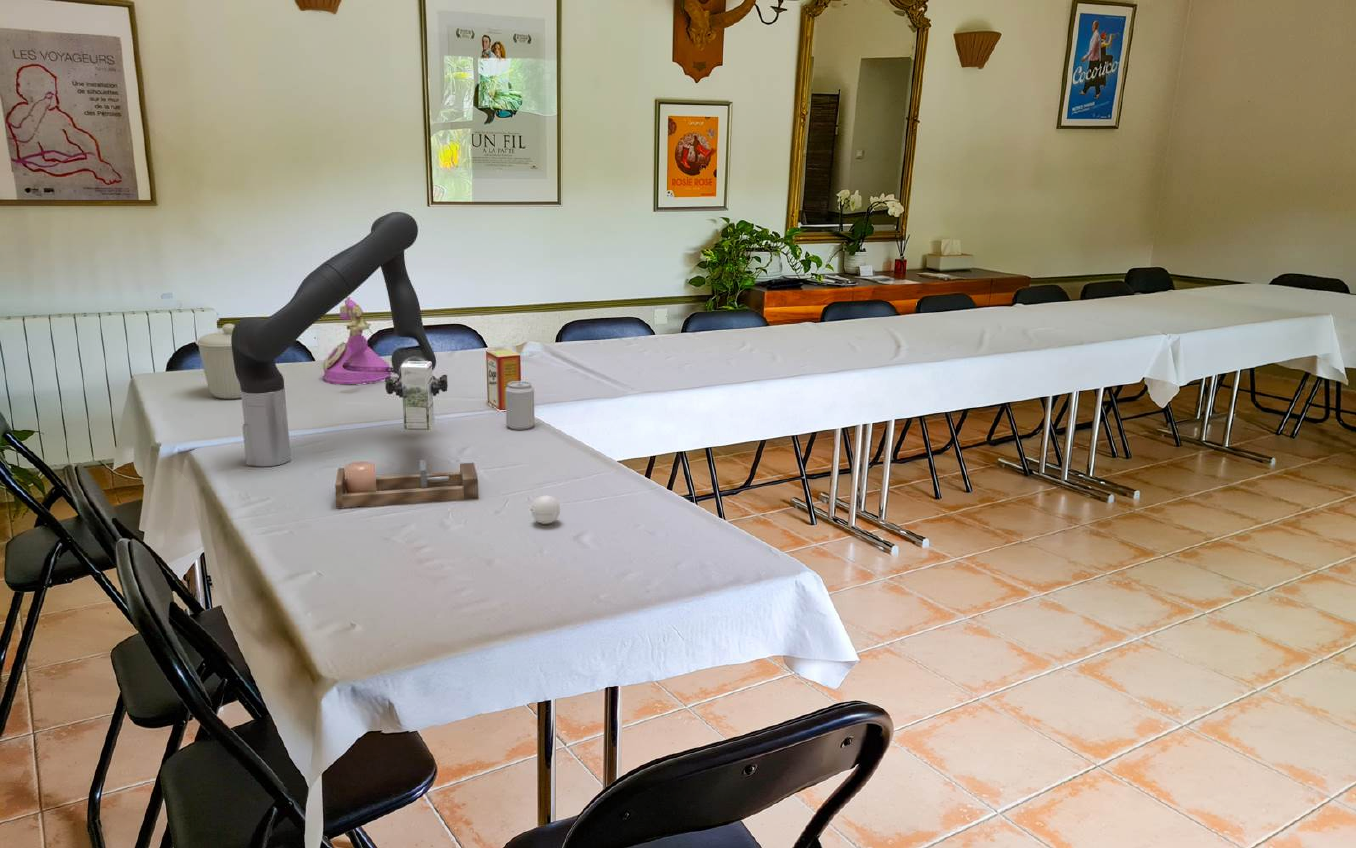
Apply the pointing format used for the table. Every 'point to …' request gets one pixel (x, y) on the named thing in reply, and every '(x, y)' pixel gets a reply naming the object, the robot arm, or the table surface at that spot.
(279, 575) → the table surface
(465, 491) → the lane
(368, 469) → the peach rounded cylinder
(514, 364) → the baking soda box
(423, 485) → the plate
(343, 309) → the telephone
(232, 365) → the canister
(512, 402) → the can
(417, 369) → the syrup box
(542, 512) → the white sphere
